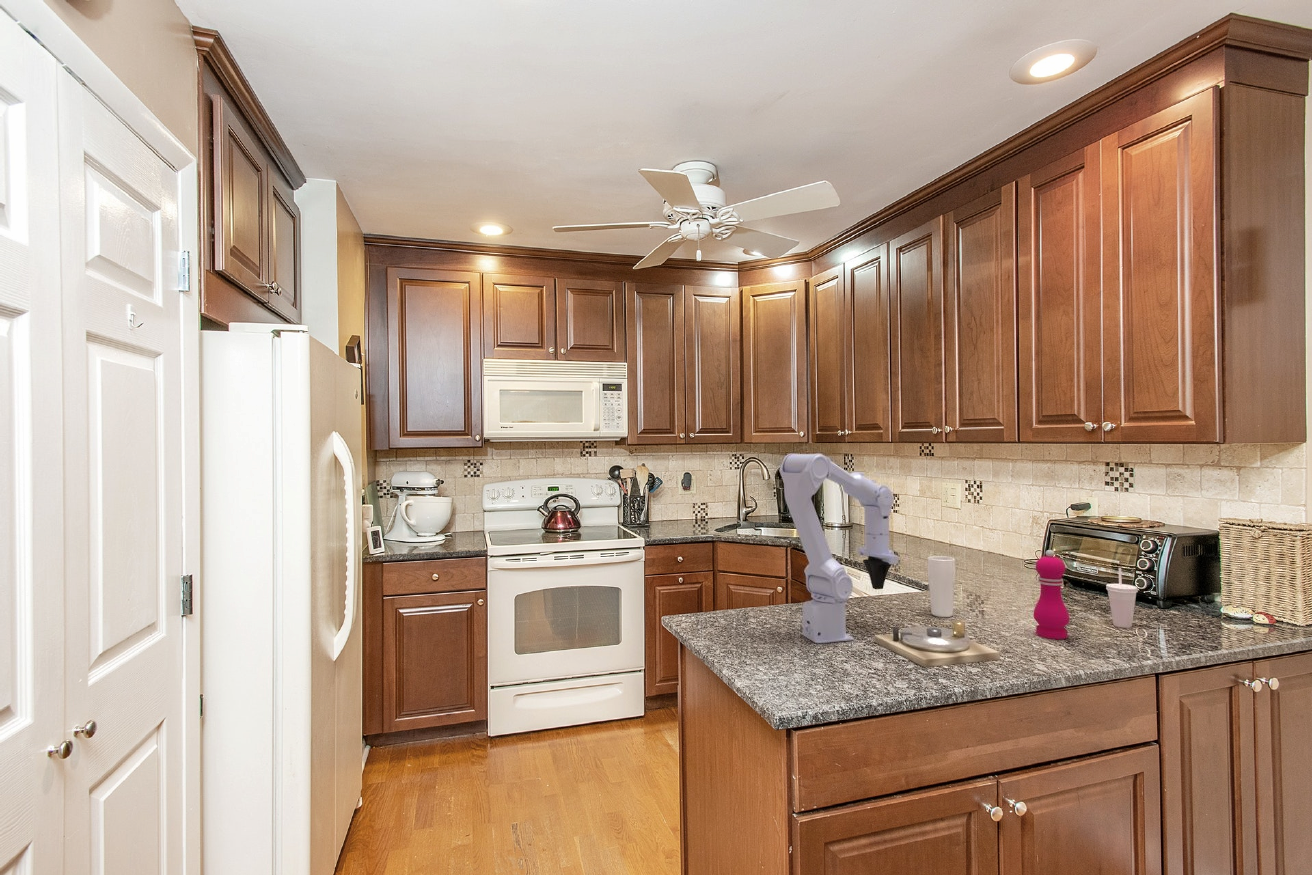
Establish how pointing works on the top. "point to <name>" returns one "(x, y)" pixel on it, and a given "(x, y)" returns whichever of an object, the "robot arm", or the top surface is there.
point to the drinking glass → (941, 584)
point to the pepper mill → (1051, 598)
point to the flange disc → (936, 638)
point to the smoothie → (1122, 602)
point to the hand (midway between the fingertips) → (877, 588)
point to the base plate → (933, 657)
